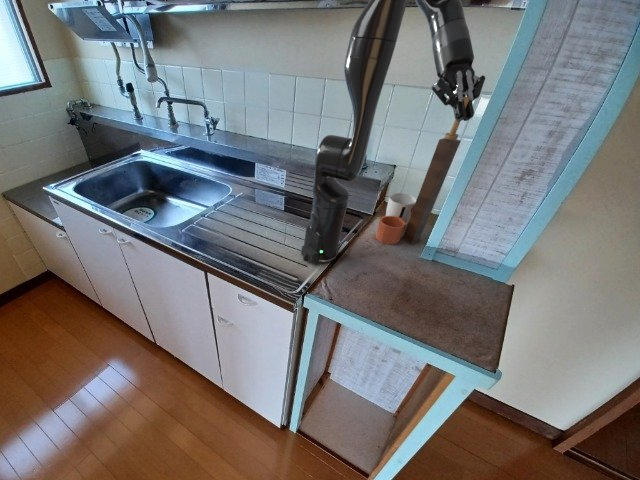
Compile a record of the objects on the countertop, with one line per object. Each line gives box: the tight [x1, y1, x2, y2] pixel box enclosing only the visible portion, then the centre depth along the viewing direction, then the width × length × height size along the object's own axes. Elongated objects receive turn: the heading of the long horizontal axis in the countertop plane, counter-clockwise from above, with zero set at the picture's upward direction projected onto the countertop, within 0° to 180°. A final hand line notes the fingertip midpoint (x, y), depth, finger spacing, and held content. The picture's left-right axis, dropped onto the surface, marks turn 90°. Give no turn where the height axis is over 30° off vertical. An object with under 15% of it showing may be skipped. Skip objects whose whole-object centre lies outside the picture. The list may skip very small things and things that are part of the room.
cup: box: [385, 192, 417, 223], centre depth 106 cm, size 8×8×10 cm
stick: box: [443, 96, 470, 140], centre depth 79 cm, size 3×3×9 cm
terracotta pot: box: [375, 215, 407, 245], centre depth 102 cm, size 7×7×6 cm
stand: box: [401, 137, 462, 245], centre depth 93 cm, size 4×4×30 cm
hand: (465, 119), depth 78 cm, fingers closed on stick, 1 cm apart
